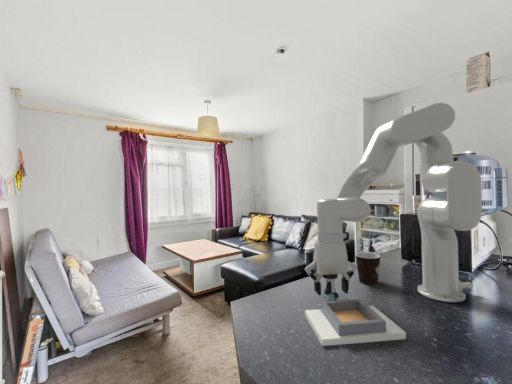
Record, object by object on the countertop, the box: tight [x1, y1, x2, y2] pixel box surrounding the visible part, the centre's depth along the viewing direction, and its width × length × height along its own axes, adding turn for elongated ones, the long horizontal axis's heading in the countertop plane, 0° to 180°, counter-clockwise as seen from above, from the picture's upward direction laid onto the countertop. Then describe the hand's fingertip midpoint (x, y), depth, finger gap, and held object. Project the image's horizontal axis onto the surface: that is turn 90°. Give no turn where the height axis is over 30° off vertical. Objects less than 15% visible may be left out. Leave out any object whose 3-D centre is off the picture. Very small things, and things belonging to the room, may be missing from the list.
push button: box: [321, 274, 340, 301], centre depth 79 cm, size 7×5×10 cm
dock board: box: [304, 298, 407, 347], centre depth 64 cm, size 20×14×4 cm
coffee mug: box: [354, 252, 381, 286], centre depth 94 cm, size 12×9×10 cm
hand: (331, 292), depth 79 cm, fingers open, 8 cm apart
